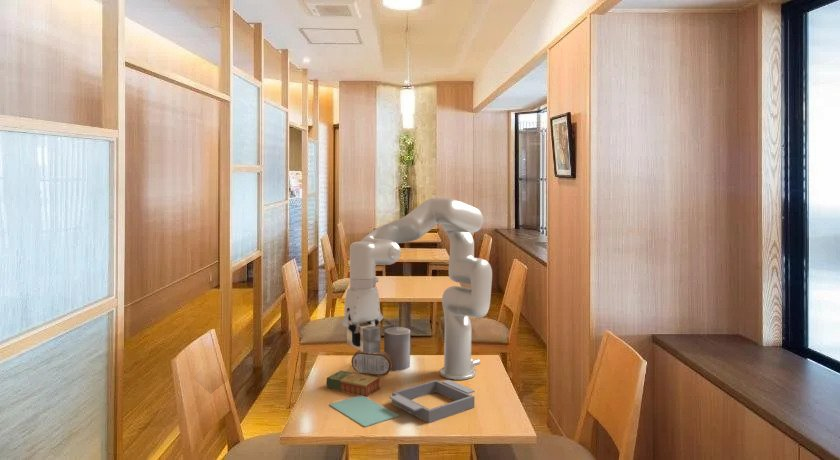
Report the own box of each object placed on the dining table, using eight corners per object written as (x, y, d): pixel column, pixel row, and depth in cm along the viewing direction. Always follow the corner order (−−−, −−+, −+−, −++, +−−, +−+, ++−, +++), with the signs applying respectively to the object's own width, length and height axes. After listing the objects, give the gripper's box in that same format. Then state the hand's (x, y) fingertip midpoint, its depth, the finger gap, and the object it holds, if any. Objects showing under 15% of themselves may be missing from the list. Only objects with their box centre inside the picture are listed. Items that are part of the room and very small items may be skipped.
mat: (361, 395, 184) (361, 394, 183) (399, 416, 168) (399, 415, 168) (329, 405, 176) (329, 404, 176) (364, 427, 160) (364, 426, 160)
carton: (366, 398, 183) (366, 385, 182) (326, 389, 190) (325, 376, 190) (380, 389, 190) (380, 377, 190) (340, 381, 197) (340, 369, 197)
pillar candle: (382, 363, 216) (381, 324, 214) (407, 361, 218) (407, 322, 216) (386, 371, 206) (386, 331, 205) (412, 369, 209) (413, 329, 207)
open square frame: (442, 388, 191) (443, 377, 190) (481, 405, 177) (481, 393, 176) (384, 405, 176) (384, 394, 175) (420, 425, 162) (420, 413, 161)
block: (358, 342, 176) (357, 319, 175) (380, 351, 167) (380, 328, 166) (346, 344, 174) (346, 321, 173) (368, 354, 164) (368, 330, 164)
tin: (393, 374, 204) (393, 351, 203) (390, 377, 201) (390, 354, 200) (353, 370, 207) (353, 348, 206) (350, 373, 204) (350, 350, 203)
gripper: (378, 278, 177) (379, 336, 178) (331, 284, 166) (332, 346, 168) (393, 282, 171) (393, 342, 172) (345, 289, 160) (345, 352, 162)
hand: (363, 343), depth 170 cm, fingers closed on block, 4 cm apart
